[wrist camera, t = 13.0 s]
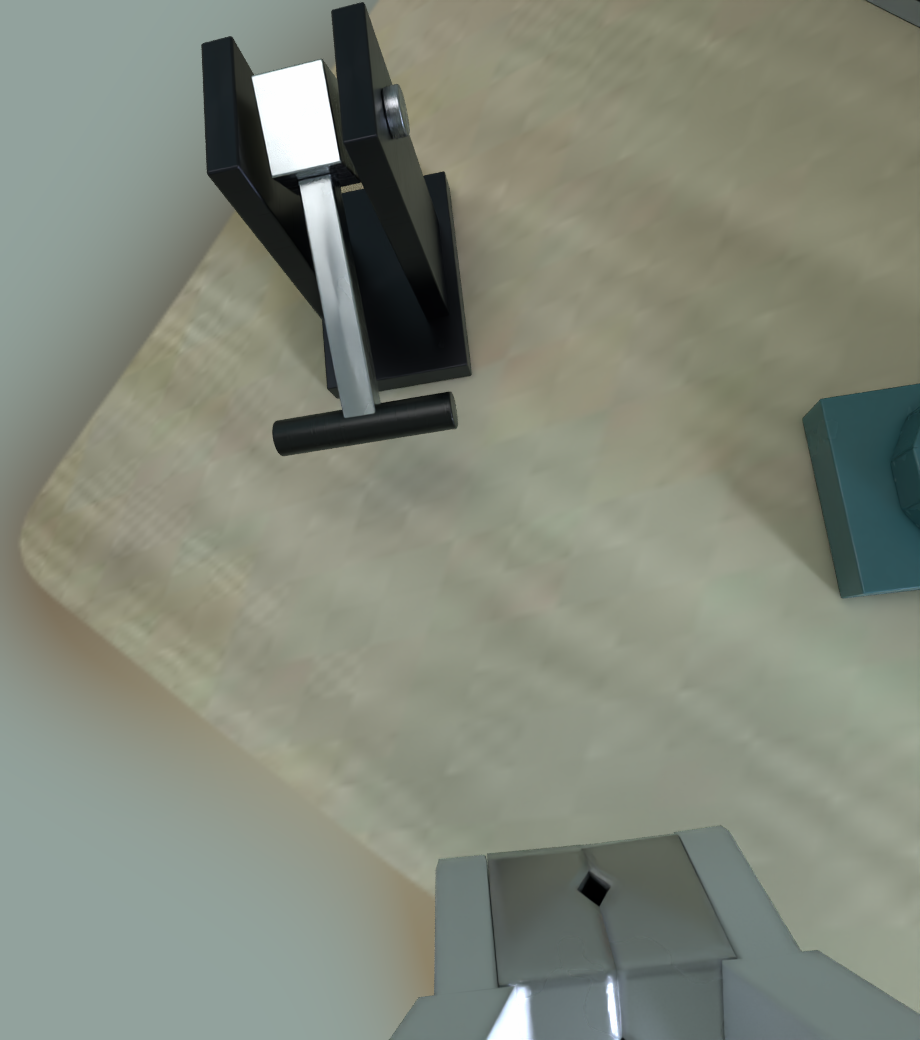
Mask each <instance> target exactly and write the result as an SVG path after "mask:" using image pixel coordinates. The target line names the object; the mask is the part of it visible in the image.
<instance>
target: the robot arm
mask: <svg viewBox="0 0 920 1040" xmlns="http://www.w3.org/2000/svg"><path fill="white" fill-rule="evenodd" d="M487 861H488V865H487ZM434 982H435V983H434V996H425V997H419V998H418V999H417V1001H416V1002H415V1003H414V1005H413V1006H412V1008H411V1009H410V1011H409V1012H408V1013H407V1015H406V1016H405V1018H404V1019H403V1021H402V1022H401V1023H400V1025H399V1026H398V1028H397V1029H396V1031H395V1032H394V1033H393V1035H392V1037H391V1038H390V1039H389V1040H920V1014H918V1013H917V1012H915V1011H914V1010H912V1009H911V1008H909V1007H907V1006H906V1005H904V1004H903V1003H901V1002H899V1001H898V1000H896V999H895V998H893V997H891V996H890V995H888V994H887V993H885V992H884V991H882V990H880V989H879V988H877V987H876V986H874V985H872V984H871V983H869V982H868V981H866V980H865V979H863V978H861V977H860V976H858V975H857V974H855V973H853V972H852V971H850V970H849V969H847V968H846V967H844V966H842V965H841V964H839V963H838V962H836V961H834V960H833V959H831V958H830V957H828V956H826V955H825V954H823V953H822V952H820V951H819V950H814V951H805V952H802V951H801V950H800V948H799V946H798V945H797V943H796V941H795V940H794V938H793V936H792V935H791V933H790V931H789V930H788V928H787V927H786V925H785V923H784V922H783V920H782V918H781V917H780V915H779V913H778V912H777V910H776V908H775V907H774V905H773V903H772V902H771V900H770V898H769V897H768V895H767V893H766V892H765V890H764V888H763V887H762V885H761V883H760V882H759V880H758V878H757V877H756V875H755V873H754V872H753V870H752V868H751V867H750V865H749V863H748V862H747V860H746V858H745V857H744V855H743V853H742V852H741V850H740V848H739V847H738V845H737V843H736V842H735V840H734V838H733V837H732V835H731V833H730V832H729V830H727V829H726V828H724V827H723V826H721V825H720V826H713V827H706V828H699V829H692V830H685V831H678V832H674V834H666V835H658V836H650V837H642V838H634V839H626V840H618V841H610V842H602V843H594V844H586V845H573V846H563V847H552V848H542V849H531V850H521V851H510V852H499V853H489V854H487V859H486V856H485V855H475V856H465V857H455V858H446V859H439V860H438V864H437V867H436V892H435V980H434Z"/></svg>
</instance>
